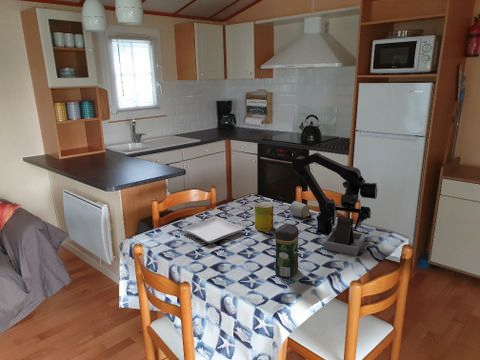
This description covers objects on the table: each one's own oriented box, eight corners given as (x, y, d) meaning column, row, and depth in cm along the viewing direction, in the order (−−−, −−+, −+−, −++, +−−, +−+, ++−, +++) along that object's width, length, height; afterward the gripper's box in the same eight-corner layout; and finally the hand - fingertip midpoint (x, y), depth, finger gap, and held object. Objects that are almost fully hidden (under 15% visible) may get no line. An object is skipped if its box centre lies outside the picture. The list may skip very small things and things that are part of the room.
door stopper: (346, 249, 157) (347, 222, 154) (333, 245, 161) (334, 219, 157) (354, 241, 164) (356, 216, 161) (341, 238, 167) (342, 213, 164)
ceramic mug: (302, 220, 193) (302, 206, 191) (289, 216, 198) (289, 202, 196) (313, 214, 200) (314, 201, 198) (300, 211, 206) (301, 198, 204)
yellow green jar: (270, 232, 179) (270, 208, 176) (252, 230, 182) (252, 206, 179) (275, 225, 187) (275, 202, 184) (258, 223, 190) (257, 201, 187)
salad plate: (208, 248, 164) (208, 240, 163) (182, 234, 180) (181, 227, 179) (244, 234, 178) (244, 227, 177) (216, 222, 193) (216, 216, 192)
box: (323, 249, 160) (323, 241, 159) (333, 235, 173) (333, 228, 172) (356, 255, 153) (357, 247, 152) (364, 241, 167) (364, 233, 166)
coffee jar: (281, 264, 148) (281, 220, 143) (300, 268, 144) (301, 223, 139) (271, 275, 139) (271, 229, 134) (292, 280, 136) (292, 233, 131)
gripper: (327, 184, 163) (319, 216, 157) (371, 189, 155) (365, 223, 148) (331, 196, 172) (323, 227, 166) (373, 201, 163) (367, 234, 157)
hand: (344, 227), depth 159 cm, fingers open, 9 cm apart
